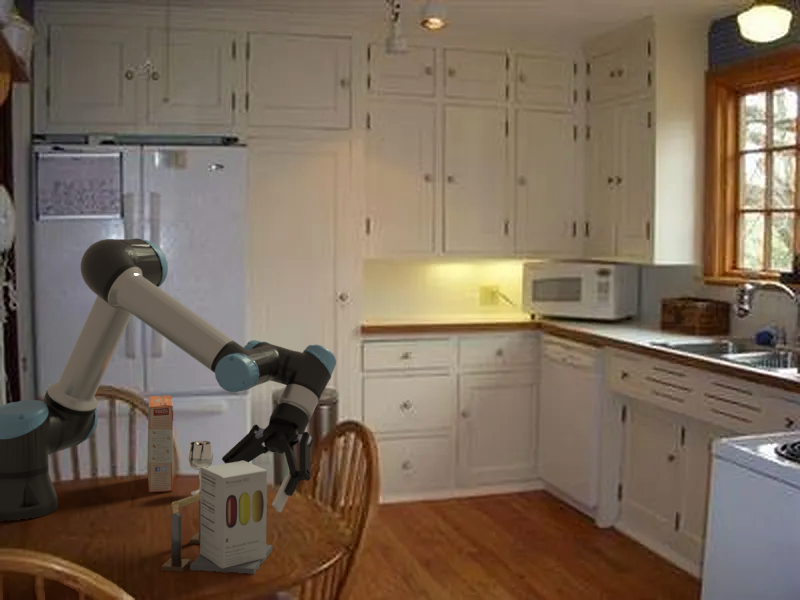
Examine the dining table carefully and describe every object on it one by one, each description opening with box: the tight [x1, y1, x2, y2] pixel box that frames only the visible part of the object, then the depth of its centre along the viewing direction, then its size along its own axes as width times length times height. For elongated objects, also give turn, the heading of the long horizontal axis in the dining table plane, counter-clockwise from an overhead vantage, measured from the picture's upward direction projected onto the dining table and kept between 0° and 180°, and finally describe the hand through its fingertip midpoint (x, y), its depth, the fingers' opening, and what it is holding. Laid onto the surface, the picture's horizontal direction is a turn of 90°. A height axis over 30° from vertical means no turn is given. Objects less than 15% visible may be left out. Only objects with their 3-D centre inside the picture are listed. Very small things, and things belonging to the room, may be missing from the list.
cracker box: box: [147, 395, 174, 493], centre depth 207 cm, size 14×6×21 cm, turn 17°
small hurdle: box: [161, 491, 201, 573], centre depth 163 cm, size 6×18×10 cm, turn 173°
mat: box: [189, 544, 273, 575], centre depth 160 cm, size 12×12×1 cm
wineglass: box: [187, 440, 214, 496], centre depth 201 cm, size 6×6×12 cm
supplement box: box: [199, 460, 268, 569], centre depth 158 cm, size 10×9×17 cm
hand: (247, 503), depth 163 cm, fingers open, 13 cm apart
